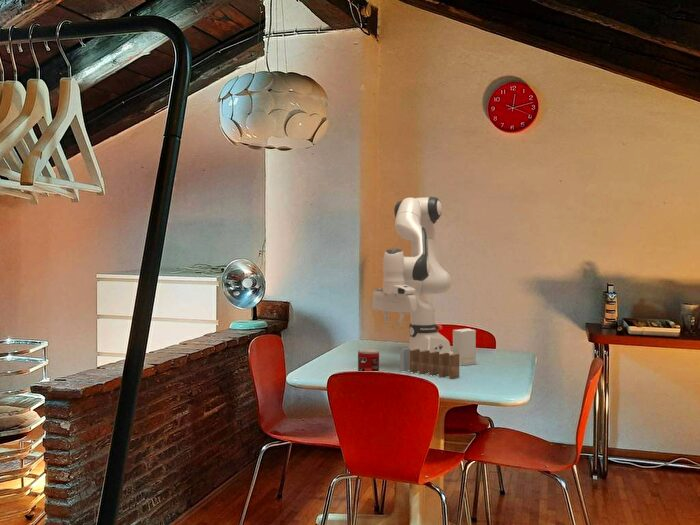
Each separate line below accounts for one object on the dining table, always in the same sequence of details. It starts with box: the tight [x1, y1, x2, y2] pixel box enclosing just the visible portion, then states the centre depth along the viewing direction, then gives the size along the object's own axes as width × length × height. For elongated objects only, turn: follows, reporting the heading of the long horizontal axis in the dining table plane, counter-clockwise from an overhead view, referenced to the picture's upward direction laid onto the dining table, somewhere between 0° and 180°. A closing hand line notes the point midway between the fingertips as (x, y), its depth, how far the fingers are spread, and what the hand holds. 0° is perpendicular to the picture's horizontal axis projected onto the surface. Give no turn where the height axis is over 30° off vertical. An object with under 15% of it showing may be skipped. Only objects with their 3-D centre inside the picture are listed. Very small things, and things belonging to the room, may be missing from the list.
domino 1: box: [399, 347, 411, 372], centre depth 289 cm, size 2×5×9 cm, turn 142°
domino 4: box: [428, 351, 439, 377], centre depth 280 cm, size 2×5×9 cm, turn 142°
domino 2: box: [409, 349, 420, 373], centre depth 286 cm, size 2×5×9 cm, turn 142°
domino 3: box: [418, 350, 430, 375], centre depth 283 cm, size 2×5×9 cm, turn 142°
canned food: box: [357, 348, 380, 372], centre depth 272 cm, size 8×8×11 cm
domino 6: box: [448, 354, 460, 380], centre depth 275 cm, size 2×5×9 cm, turn 142°
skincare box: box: [452, 328, 477, 367], centre depth 303 cm, size 8×6×15 cm
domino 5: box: [438, 352, 449, 378], centre depth 278 cm, size 2×5×9 cm, turn 142°
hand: (393, 322), depth 292 cm, fingers open, 5 cm apart
